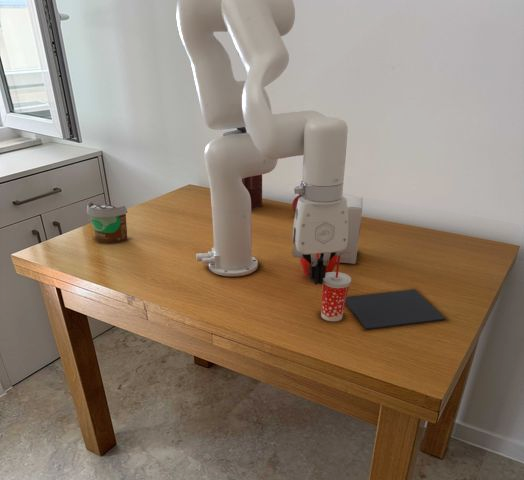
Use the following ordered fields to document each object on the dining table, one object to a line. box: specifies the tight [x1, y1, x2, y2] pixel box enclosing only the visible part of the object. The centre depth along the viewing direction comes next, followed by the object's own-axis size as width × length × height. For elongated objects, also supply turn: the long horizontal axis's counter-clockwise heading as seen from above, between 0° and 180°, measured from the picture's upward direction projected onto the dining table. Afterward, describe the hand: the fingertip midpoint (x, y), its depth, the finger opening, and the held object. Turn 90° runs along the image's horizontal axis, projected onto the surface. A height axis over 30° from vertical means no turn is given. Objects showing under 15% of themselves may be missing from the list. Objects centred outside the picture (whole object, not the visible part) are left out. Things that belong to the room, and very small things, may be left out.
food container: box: [86, 200, 128, 244], centre depth 144 cm, size 12×6×10 cm, turn 68°
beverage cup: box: [320, 255, 352, 322], centre depth 107 cm, size 6×6×14 cm
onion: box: [292, 194, 302, 213], centre depth 162 cm, size 6×6×8 cm
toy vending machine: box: [222, 127, 263, 211], centre depth 165 cm, size 9×11×28 cm
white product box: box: [336, 196, 364, 265], centre depth 133 cm, size 9×9×15 cm
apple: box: [299, 254, 337, 279], centre depth 124 cm, size 9×9×8 cm
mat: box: [345, 289, 446, 331], centre depth 113 cm, size 18×14×1 cm
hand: (316, 281), depth 105 cm, fingers closed
